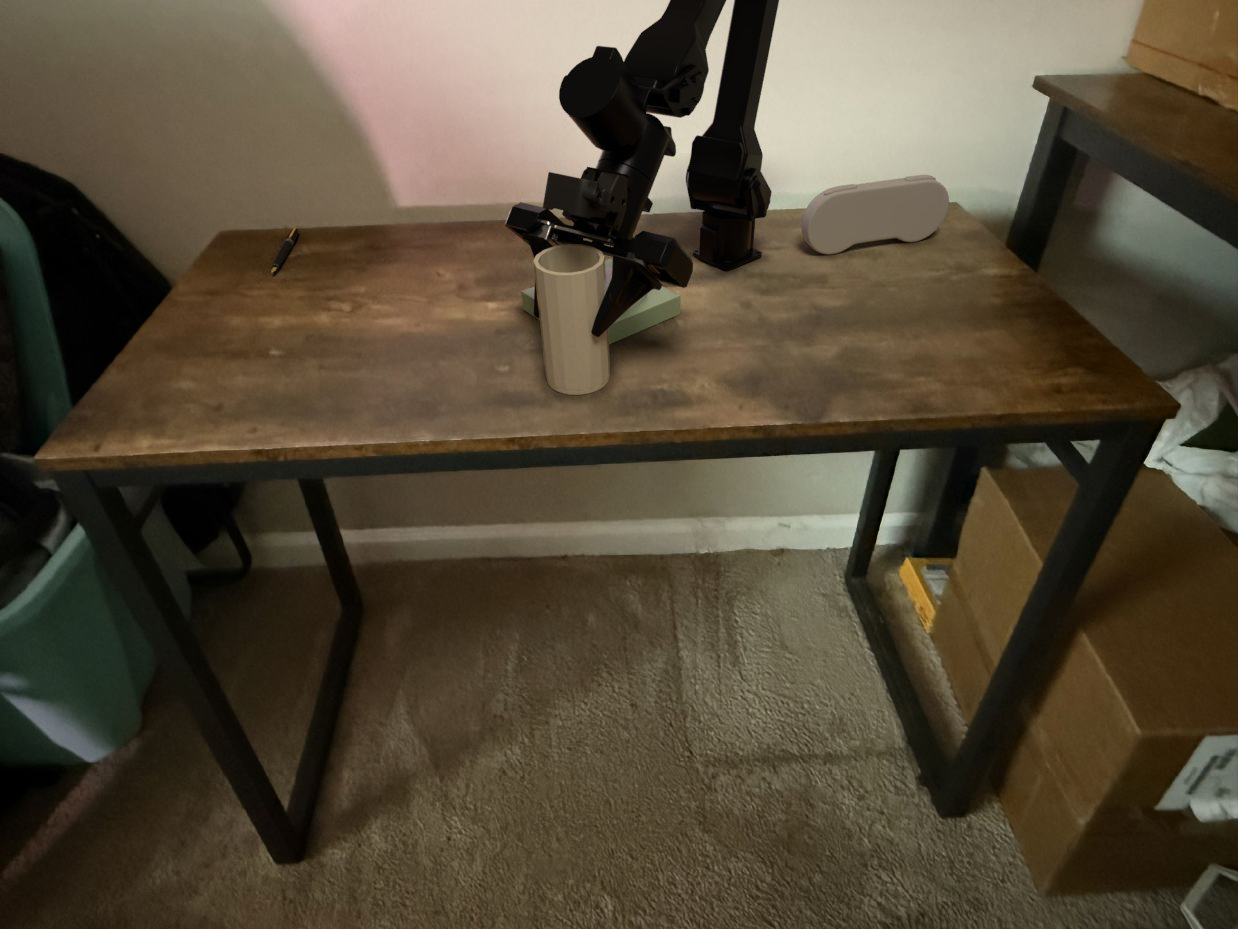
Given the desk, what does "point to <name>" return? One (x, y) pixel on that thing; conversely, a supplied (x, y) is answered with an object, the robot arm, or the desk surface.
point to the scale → (637, 317)
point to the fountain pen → (285, 249)
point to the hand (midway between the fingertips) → (565, 326)
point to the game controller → (874, 213)
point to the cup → (572, 317)
